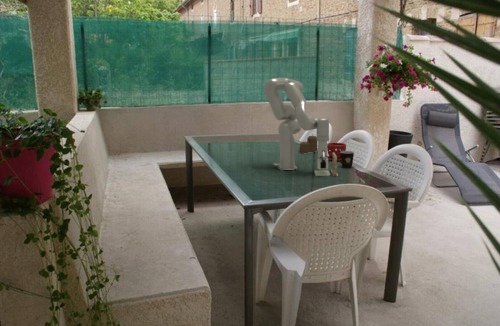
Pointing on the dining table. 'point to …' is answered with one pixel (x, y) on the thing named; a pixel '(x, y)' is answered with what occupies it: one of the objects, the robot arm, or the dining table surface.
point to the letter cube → (320, 163)
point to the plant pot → (332, 148)
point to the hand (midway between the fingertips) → (322, 166)
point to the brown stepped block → (309, 145)
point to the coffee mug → (346, 158)
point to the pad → (322, 173)
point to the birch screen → (334, 165)
